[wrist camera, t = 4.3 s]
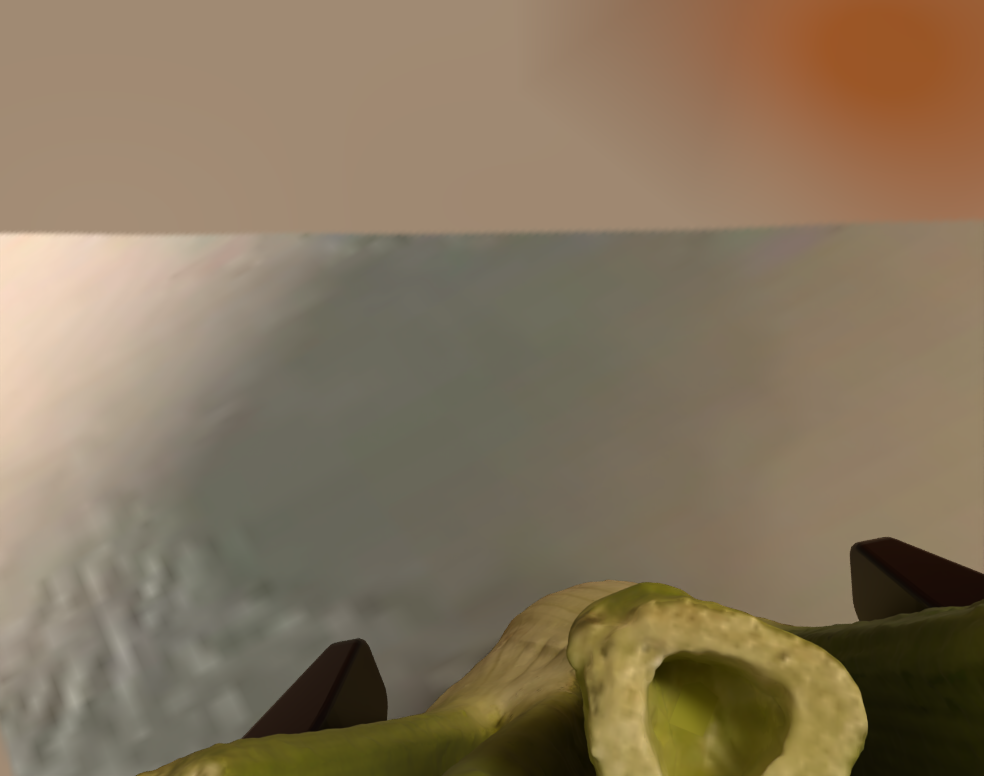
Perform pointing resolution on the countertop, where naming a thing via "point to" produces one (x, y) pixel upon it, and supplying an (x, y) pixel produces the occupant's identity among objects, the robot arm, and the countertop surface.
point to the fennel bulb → (670, 699)
